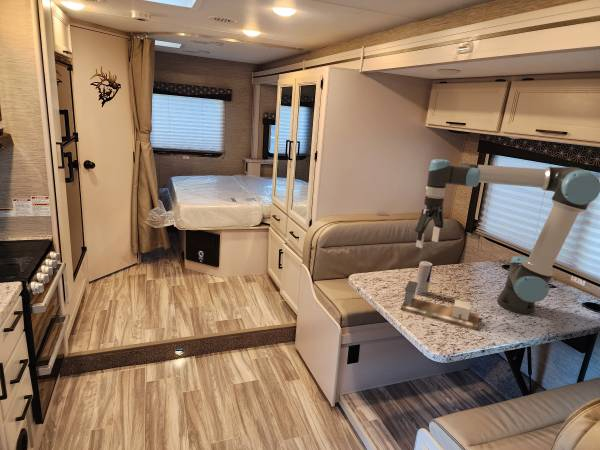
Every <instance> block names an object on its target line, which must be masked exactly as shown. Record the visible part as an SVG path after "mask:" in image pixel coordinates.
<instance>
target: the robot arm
mask: <svg viewBox="0 0 600 450" xmlns="http://www.w3.org/2000/svg"><path fill="white" fill-rule="evenodd" d="M450 163H451V161H450V160H447V159H440V158H434V159H432V160H431V161H430V165H429V169H428V176H427V184H426V187H425V189H426V190H425V197H424V203H423V204H424V205H425V206H426V209H425V208H423V209H421V213H420V217H419V219H418V221H417V225H416V226H415V230H414V231H415V232H416V233H417V235H416V242H415V243H416V244H415V247H416V248H420V249H423V247H424V246H423V245H424V241H425V240H424V239H425V231H426V229H427V227H428V226H429V223H430V221H433V223H434V226H433V228H432V236H431V241H432V242H434V243H439V238H440V232H441V229H443V227H444V214H443V209H444V201H445V199H444V197H445V194H446V189H447V185H455V186H464V187H469V188H470V187H473V188H475V187H478V185H479V183H485V184H494V185H506V186H517V187H529V188H539V189H541V190H542V191H544V192H545V191H547V192H553V195H552V197H551V202H552V204H553V206H552V208H551V210H550V212H549V214H548V216H547V218H546V221H545V223H544V224H543V226H542V229H541V231H540V234H539V236H538V237H537V239H536V241H535V243H534V246H533V248H532V249H531V252H530V254H529V256H528V257H527V256H521V255H514V256H513V257H512V258H511V261H510V263H509V269H508V273H507V277H506V281H505V282H506V283H505V286H504V287H503V289H502V290H501V292H500V293H499V295H498V296H497V300H496V302H497V304H498V305H499V306H500V307H502V308H503V309H504V310H506V311H507V310H508V311H509V312H512V313H517V314H521V315H531V313H532V314H534V313H535V312H536V311H535V310H536V306H537V305H536V303H537V302H541V301H543V300H544V299H545V298H547V296H548V295H549V291H550V287H549V284H550V281H551V279H552V277H553V276H554V272H553V271H552V267H553V266H554V264H555V261H556V260H557V258H558V256H559V254H560V252H561V250H562V247H563V246H564V245H565V241H566V240H567V237H568V236H569V234H570V232H571V230H572V228H573V226H574V224H575V222H576V220H577V218H578V216H579V214H580V213H583V212H585V211H586V210H587V208H588V207H589V205H590V203H592V202H593V201H595V200H596V199H597V198H598V196H599V195H600V179H599V178H598V177H597V175H595V173H592V172H591V171H589V170H585V169H583V168H582V167H575V166H564V167H563V166H561V167H560V166H559V167H558V166H547V167H545V168H533V167H520V166H519V167H518V166H503V165H501V166H500V165H490V164H489V165H488V164H487V165H486V164H485V165H484V164H475V163H474V164H473V163H467V162H461V163H459V164H457V165H456V166H455V165H451V164H450ZM533 312H534V313H533Z"/></svg>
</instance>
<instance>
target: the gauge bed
mask: <svg viewBox="0 0 600 450" xmlns="http://www.w3.org/2000/svg"><path fill="white" fill-rule="evenodd" d="M403 304H404V301H403V302H402V304H401V306H400V311H403V312H407V313H410V314H414V315H418V316H422V317H425V318H430V319H433V320H437V321H440V322H444V323H449V324H452V325H456V326H459V327H463V328H466V329H470V330H475V331H478V329H479V316H480V314H478V313H474V312H469V317H468V321H467V320H463V319H461V320H460V319H459V318H455V317H452V313H453V308H454V307H451V306H447V305H446V306H445V305H442V304H438V303H435V302H430V301H427V300H422V299H418V298H415V297H414V300H413V303H412V305H411V307H409V306H404V305H403Z"/></svg>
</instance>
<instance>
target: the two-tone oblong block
mask: <svg viewBox="0 0 600 450" xmlns="http://www.w3.org/2000/svg"><path fill="white" fill-rule="evenodd" d="M417 285H418V283H417V282H416V281H412V280H408V282H407V284H406V286H405V288H404V291H405V293H404V299H403V302H404V304H403V303H402V304H403V305H404V306H409V307H411V305H412V303H413V300H414V298H415V296H416V292H415V291H416V287H417Z"/></svg>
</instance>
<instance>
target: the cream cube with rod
mask: <svg viewBox="0 0 600 450" xmlns="http://www.w3.org/2000/svg"><path fill="white" fill-rule="evenodd" d="M471 304H472V303H471V302H468V301H464V300H460V299H454V305H453V307H452V308H453V313H452V317H455V318H459V319H460V320H461V319H463V320H467V321H468V317H469V312H470V311H471ZM470 313H471V312H470Z"/></svg>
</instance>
